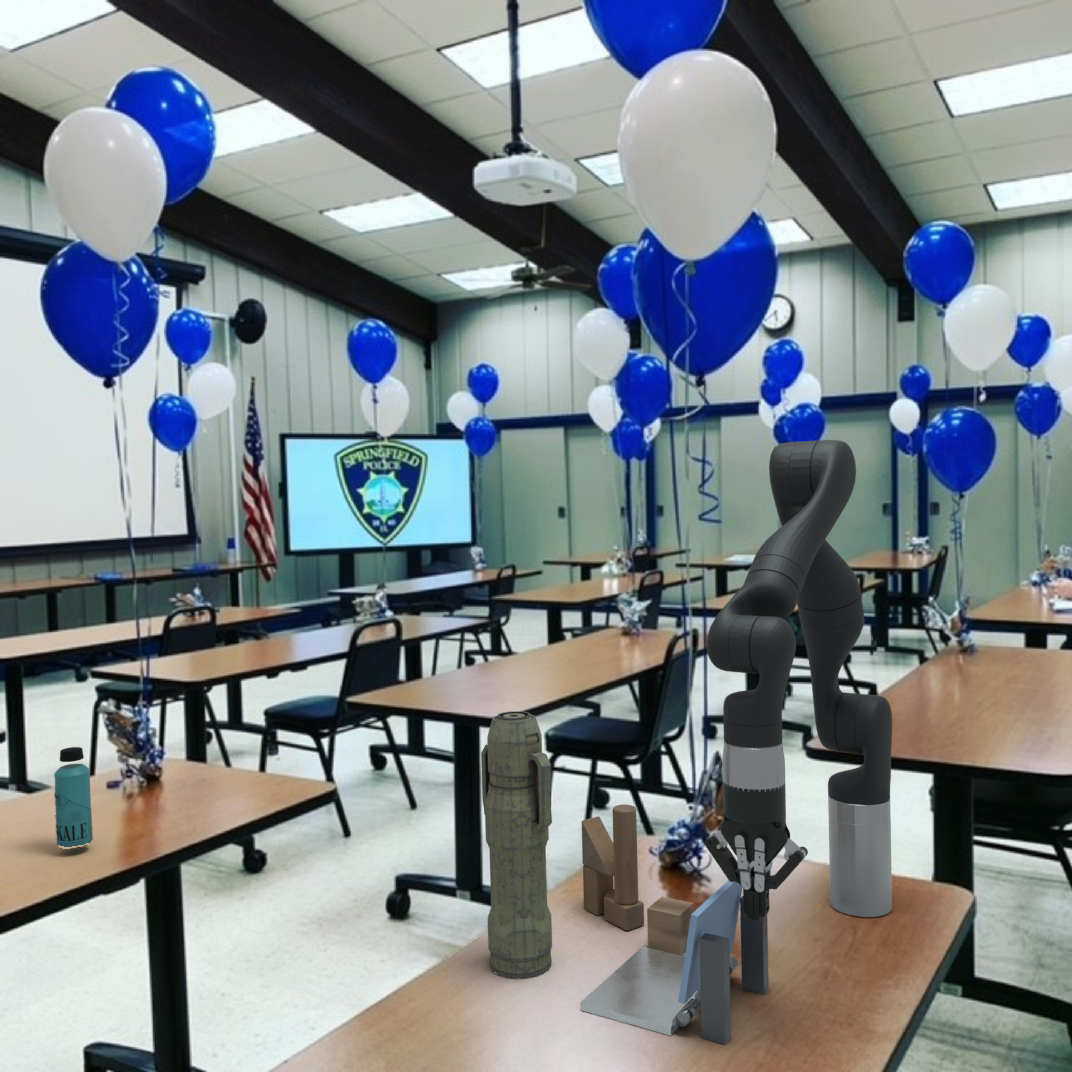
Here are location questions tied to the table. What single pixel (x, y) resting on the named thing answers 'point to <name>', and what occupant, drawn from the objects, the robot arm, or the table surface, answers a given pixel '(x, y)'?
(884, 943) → the table surface
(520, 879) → the thermos
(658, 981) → the base leaf
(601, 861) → the wooden block
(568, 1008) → the table surface
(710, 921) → the pale blue flat slab
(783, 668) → the robot arm
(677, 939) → the block
